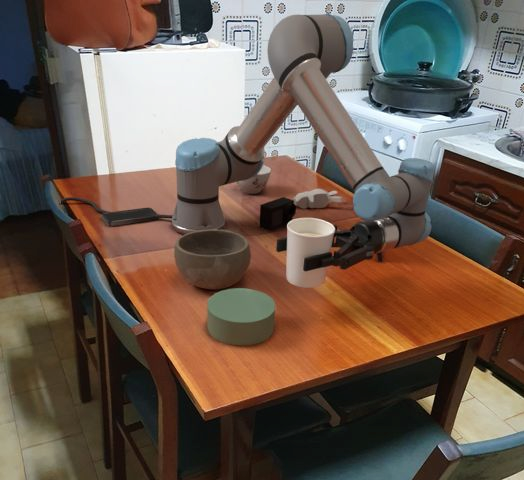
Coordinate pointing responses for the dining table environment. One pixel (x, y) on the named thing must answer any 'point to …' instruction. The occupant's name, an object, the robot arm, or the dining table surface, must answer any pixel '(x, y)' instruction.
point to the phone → (129, 216)
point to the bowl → (212, 258)
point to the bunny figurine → (315, 198)
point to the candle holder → (307, 250)
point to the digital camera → (276, 213)
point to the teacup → (256, 181)
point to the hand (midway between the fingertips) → (290, 255)
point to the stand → (240, 316)
